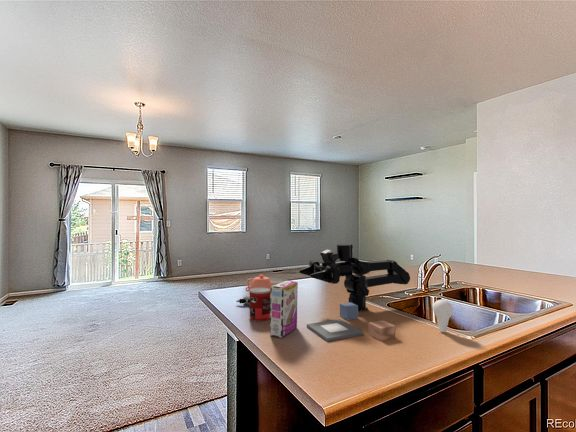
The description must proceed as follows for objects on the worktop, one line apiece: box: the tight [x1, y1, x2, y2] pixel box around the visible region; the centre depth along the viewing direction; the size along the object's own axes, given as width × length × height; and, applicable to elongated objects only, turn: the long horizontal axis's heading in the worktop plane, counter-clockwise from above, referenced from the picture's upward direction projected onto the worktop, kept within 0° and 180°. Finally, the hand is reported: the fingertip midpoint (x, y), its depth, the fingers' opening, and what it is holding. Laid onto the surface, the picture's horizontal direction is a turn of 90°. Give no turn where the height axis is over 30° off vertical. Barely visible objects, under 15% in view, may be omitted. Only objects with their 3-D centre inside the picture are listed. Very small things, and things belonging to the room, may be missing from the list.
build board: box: [306, 318, 364, 342], centre depth 107 cm, size 14×14×1 cm
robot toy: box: [236, 294, 271, 306], centre depth 137 cm, size 12×4×15 cm
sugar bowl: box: [245, 274, 273, 295], centre depth 155 cm, size 12×14×10 cm
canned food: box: [249, 288, 271, 322], centre depth 120 cm, size 8×8×11 cm
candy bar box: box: [269, 280, 299, 339], centre depth 106 cm, size 11×5×16 cm, turn 152°
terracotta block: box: [367, 319, 396, 341], centre depth 102 cm, size 6×6×4 cm
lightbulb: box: [432, 299, 454, 333], centre depth 105 cm, size 6×6×11 cm
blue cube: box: [339, 301, 359, 321], centre depth 121 cm, size 5×5×5 cm
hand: (305, 273), depth 122 cm, fingers open, 9 cm apart
